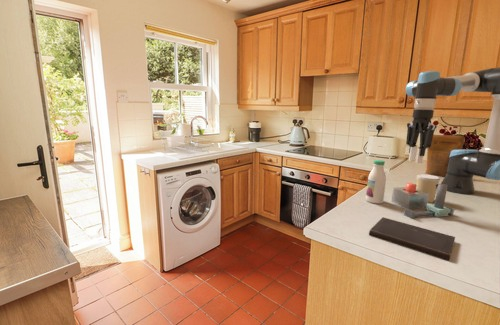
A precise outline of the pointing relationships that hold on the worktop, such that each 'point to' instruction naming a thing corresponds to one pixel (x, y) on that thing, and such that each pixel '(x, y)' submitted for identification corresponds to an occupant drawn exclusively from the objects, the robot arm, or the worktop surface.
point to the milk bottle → (376, 183)
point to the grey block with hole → (410, 198)
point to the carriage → (440, 202)
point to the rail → (423, 213)
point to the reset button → (411, 187)
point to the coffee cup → (428, 185)
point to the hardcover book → (414, 237)
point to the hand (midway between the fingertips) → (415, 161)
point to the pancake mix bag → (441, 153)
